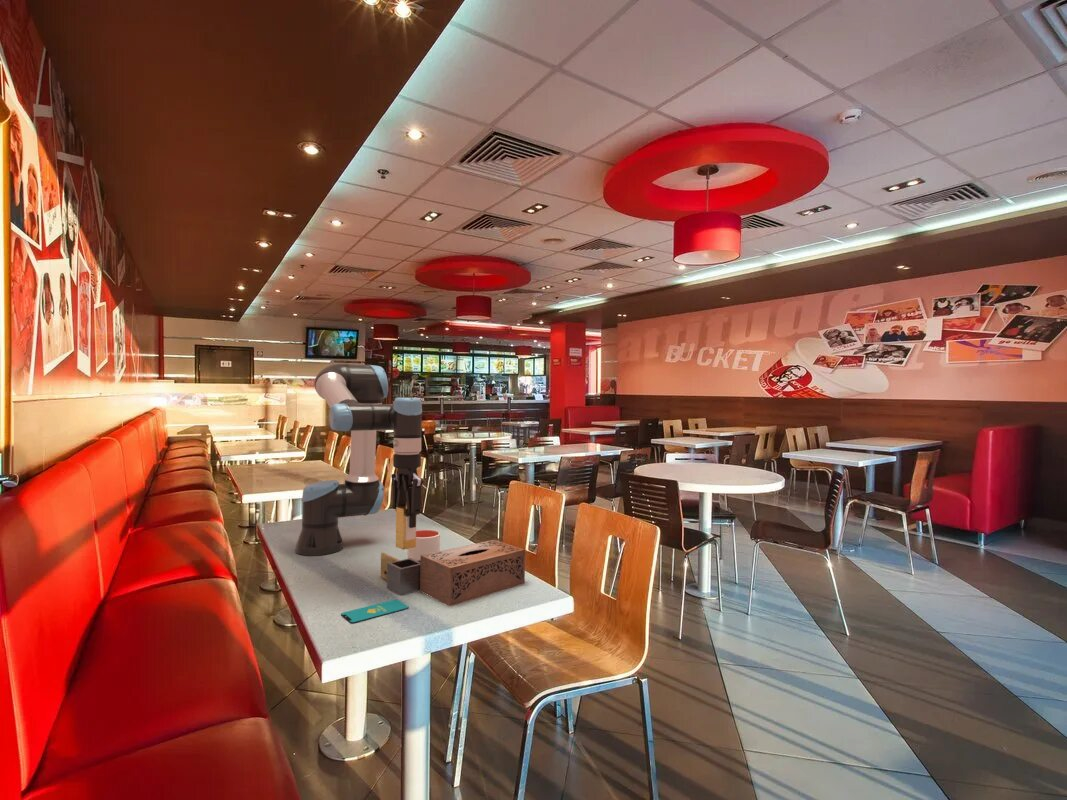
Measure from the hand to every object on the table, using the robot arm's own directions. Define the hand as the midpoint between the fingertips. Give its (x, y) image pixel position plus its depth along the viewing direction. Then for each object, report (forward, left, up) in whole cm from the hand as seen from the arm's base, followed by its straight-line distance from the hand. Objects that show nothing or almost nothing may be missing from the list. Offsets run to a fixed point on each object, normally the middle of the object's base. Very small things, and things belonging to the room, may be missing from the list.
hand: (406, 537), depth 146 cm
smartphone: (+9, -13, -15) cm, 22 cm away
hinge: (-5, +5, -14) cm, 16 cm away
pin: (0, 0, -3) cm, 3 cm away
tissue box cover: (+11, +15, -15) cm, 24 cm away
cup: (-15, +15, -15) cm, 26 cm away
